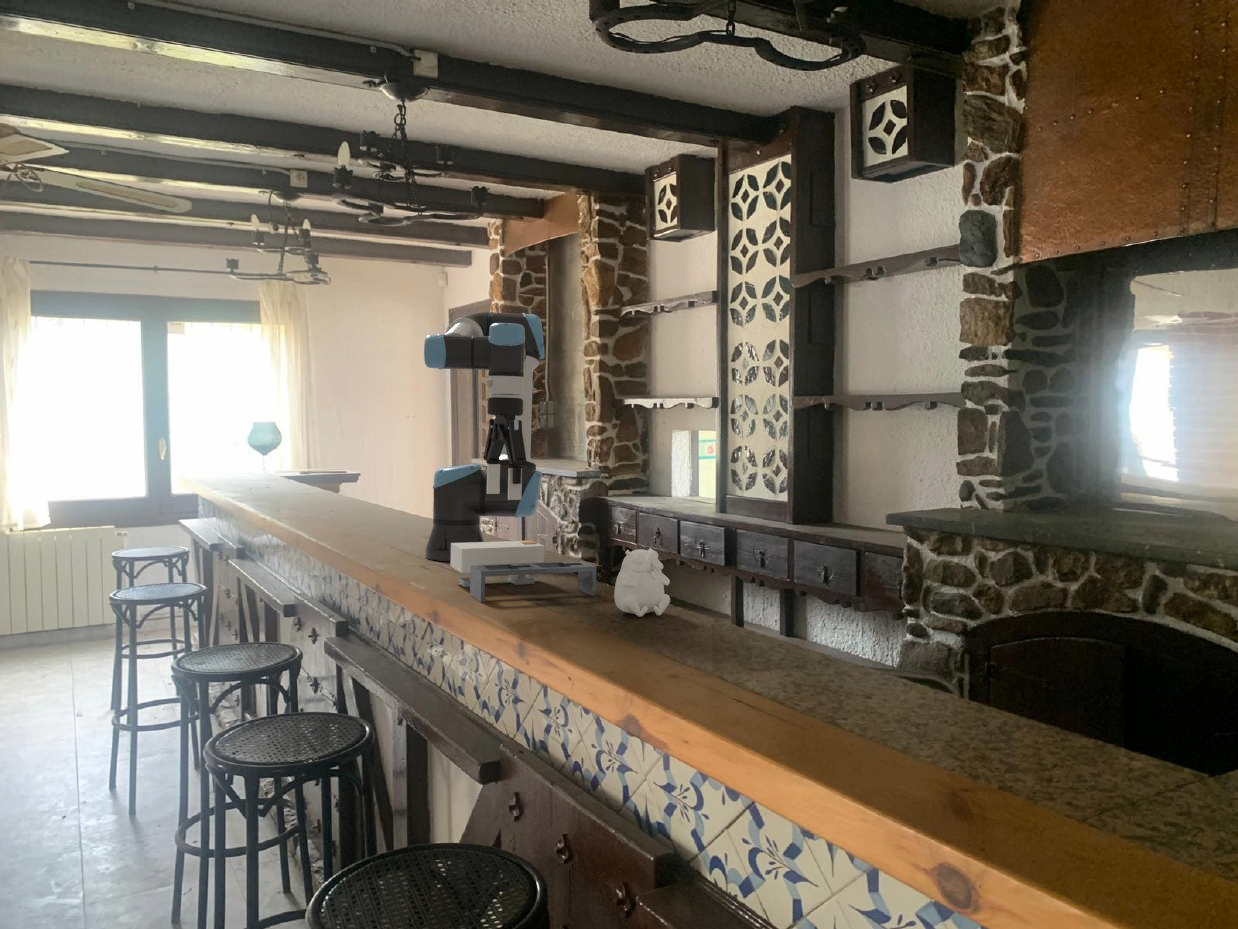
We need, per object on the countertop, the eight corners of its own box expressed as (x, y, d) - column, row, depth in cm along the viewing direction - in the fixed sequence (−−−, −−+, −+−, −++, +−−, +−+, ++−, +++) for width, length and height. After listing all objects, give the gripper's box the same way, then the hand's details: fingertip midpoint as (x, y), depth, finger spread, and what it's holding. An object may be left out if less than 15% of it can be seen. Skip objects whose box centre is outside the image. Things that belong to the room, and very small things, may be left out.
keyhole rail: (469, 595, 184) (470, 565, 184) (581, 589, 194) (582, 560, 194) (480, 602, 178) (481, 571, 177) (595, 595, 188) (596, 566, 187)
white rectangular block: (450, 582, 199) (450, 541, 198) (529, 578, 206) (530, 539, 206) (461, 589, 190) (461, 547, 190) (543, 585, 198) (544, 544, 198)
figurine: (604, 610, 174) (606, 546, 173) (650, 607, 178) (652, 544, 177) (627, 621, 165) (628, 554, 164) (675, 617, 169) (677, 552, 168)
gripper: (470, 396, 206) (468, 491, 207) (509, 396, 184) (506, 502, 185) (502, 397, 209) (500, 491, 210) (544, 397, 187) (541, 502, 188)
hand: (503, 496), depth 197 cm, fingers open, 13 cm apart
